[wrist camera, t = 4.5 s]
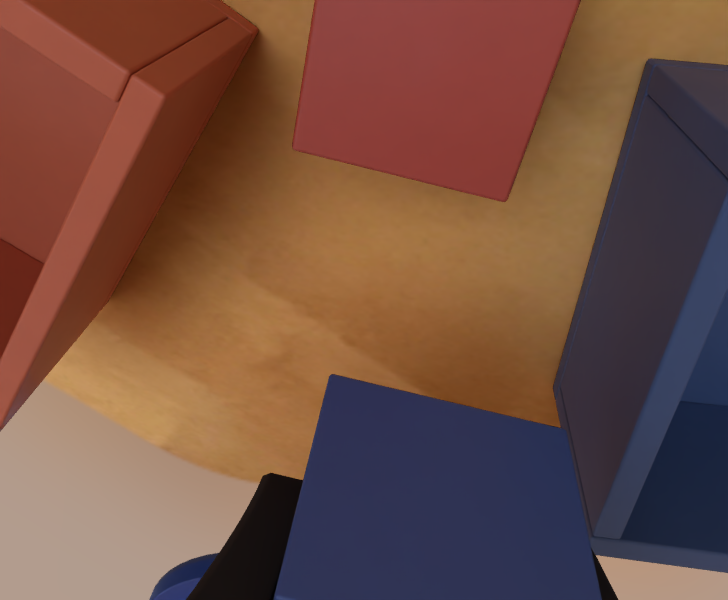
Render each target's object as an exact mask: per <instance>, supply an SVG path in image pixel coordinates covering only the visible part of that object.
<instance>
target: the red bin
mask: <svg viewBox="0 0 728 600" xmlns="http://www.w3.org/2000/svg"><path fill="white" fill-rule="evenodd" d="M257 33H258V28H257V27H256V26H254V25H253V24H252V23H250V22H249V21H248V20H246V19H245V18H243V17H242V16H241V15H239V14H238V13H237V12H235V11H234V10H232V9H231V8H230V7H228V6H227V5H226V4H224V3H223V2H221V1H220V0H0V431H1V430H2V429H3V428H4V426H5V425H6V424H7V422H8V421H9V420H10V419H11V418H12V417H13V416H14V414H15V413H16V412H17V411H18V409H19V408H20V407H21V406H22V405H23V404H24V402H25V401H26V400H27V399H28V397H29V396H30V395H31V394H32V393H33V391H34V390H35V389H36V388H37V387H38V385H39V384H40V383H41V382H42V381H43V379H44V378H45V377H46V376H47V375H48V373H49V372H50V371H51V370H52V369H53V367H54V366H55V365H56V364H57V363H58V361H59V360H60V359H61V358H62V357H63V355H64V354H65V353H66V352H67V351H68V349H69V348H70V347H71V346H72V344H73V343H74V342H75V341H76V340H77V338H78V337H79V336H80V335H81V334H82V332H83V331H84V330H85V329H86V328H87V326H88V325H89V324H90V323H91V322H92V320H93V319H94V318H95V317H96V316H97V314H98V313H99V311H100V310H102V308H103V307H104V306H105V305H106V304H107V302H108V301H109V299H110V297H111V295H112V294H113V292H114V290H115V288H116V286H117V285H118V283H119V281H120V279H121V277H122V276H123V274H124V272H125V270H126V269H127V267H128V265H129V263H130V261H131V260H132V258H133V256H134V254H135V252H136V251H137V249H138V247H139V245H140V243H141V242H142V240H143V238H144V236H145V234H146V233H147V231H148V229H149V227H150V225H151V224H152V222H153V220H154V218H155V216H156V215H157V213H158V211H159V209H160V207H161V206H162V204H163V202H164V200H165V198H166V197H167V195H168V193H169V191H170V189H171V188H172V186H173V184H174V182H175V180H176V179H177V177H178V175H179V173H180V171H181V170H182V168H183V166H184V164H185V162H186V161H187V159H188V157H189V155H190V153H191V152H192V150H193V148H194V146H195V144H196V143H197V141H198V139H199V137H200V135H201V134H202V132H203V130H204V128H205V126H206V125H207V123H208V121H209V119H210V117H211V116H212V114H213V112H214V110H215V108H216V107H217V105H218V103H219V101H220V99H221V98H222V96H223V94H224V92H225V90H226V89H227V87H228V85H229V83H230V81H231V80H232V78H233V76H234V74H235V72H236V71H237V69H238V67H239V65H240V63H241V62H242V60H243V58H244V56H245V54H246V53H247V51H248V49H249V47H250V45H251V44H252V42H253V40H254V38H255V36H256V35H257Z"/></svg>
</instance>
